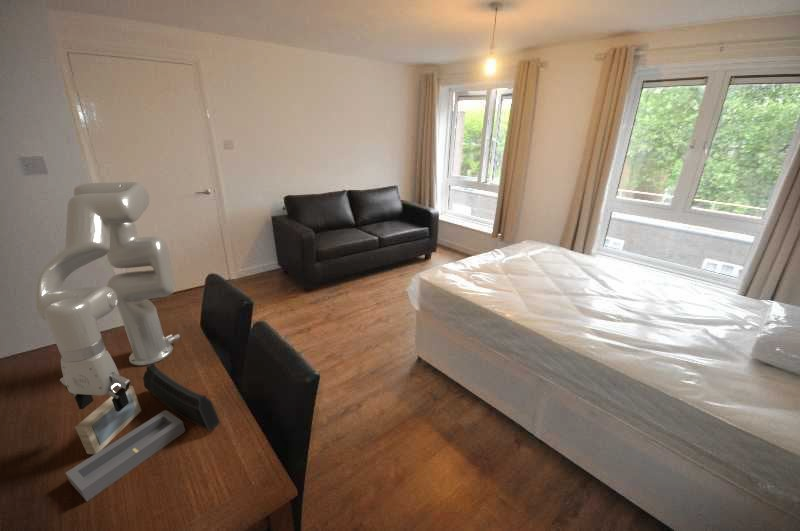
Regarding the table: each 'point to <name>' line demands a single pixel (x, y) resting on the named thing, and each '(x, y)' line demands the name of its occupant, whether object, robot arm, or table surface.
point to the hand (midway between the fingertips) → (104, 406)
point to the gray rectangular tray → (124, 454)
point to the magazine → (181, 398)
